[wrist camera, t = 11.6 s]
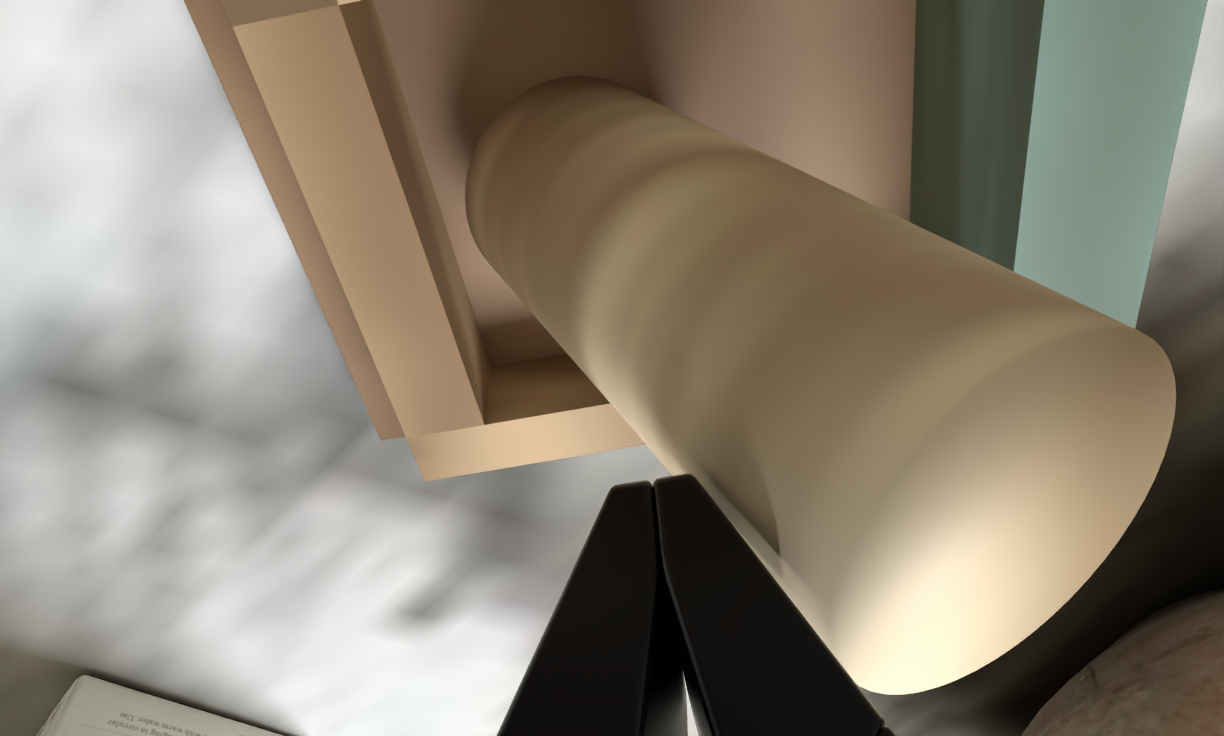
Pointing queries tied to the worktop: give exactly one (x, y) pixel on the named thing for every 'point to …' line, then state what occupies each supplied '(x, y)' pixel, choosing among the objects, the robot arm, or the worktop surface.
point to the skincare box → (133, 715)
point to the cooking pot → (1149, 679)
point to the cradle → (712, 95)
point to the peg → (828, 375)
